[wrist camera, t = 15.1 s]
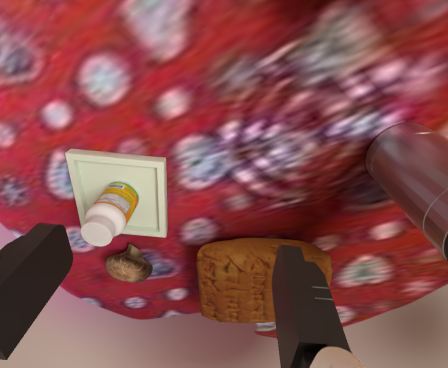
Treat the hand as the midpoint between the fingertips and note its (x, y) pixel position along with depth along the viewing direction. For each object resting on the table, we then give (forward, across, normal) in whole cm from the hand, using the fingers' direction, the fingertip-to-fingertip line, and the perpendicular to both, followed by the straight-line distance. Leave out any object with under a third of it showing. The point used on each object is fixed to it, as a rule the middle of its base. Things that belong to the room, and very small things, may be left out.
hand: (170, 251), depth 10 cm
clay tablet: (+30, -9, +29) cm, 43 cm away
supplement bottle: (+28, +14, +17) cm, 36 cm away
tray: (+29, +15, +17) cm, 36 cm away
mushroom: (+29, +14, +30) cm, 44 cm away
